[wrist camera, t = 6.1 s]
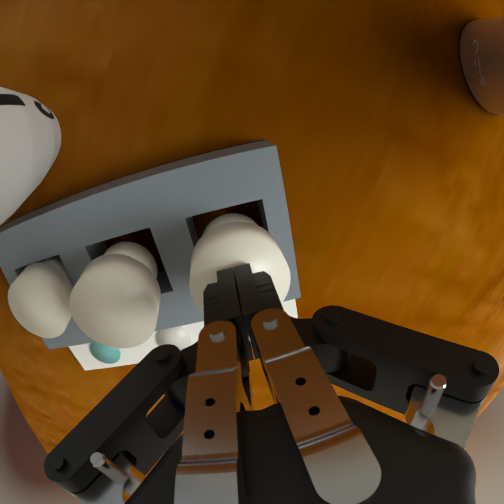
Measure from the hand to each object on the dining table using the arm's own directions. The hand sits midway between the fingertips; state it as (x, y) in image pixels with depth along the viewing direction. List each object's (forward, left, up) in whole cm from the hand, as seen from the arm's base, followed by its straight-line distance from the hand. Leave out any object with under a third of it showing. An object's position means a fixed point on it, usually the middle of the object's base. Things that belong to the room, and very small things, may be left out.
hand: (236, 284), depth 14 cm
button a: (0, 0, -5) cm, 5 cm away
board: (+6, 0, -8) cm, 10 cm away
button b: (+6, 0, -5) cm, 8 cm away
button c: (+13, 0, -7) cm, 15 cm away
